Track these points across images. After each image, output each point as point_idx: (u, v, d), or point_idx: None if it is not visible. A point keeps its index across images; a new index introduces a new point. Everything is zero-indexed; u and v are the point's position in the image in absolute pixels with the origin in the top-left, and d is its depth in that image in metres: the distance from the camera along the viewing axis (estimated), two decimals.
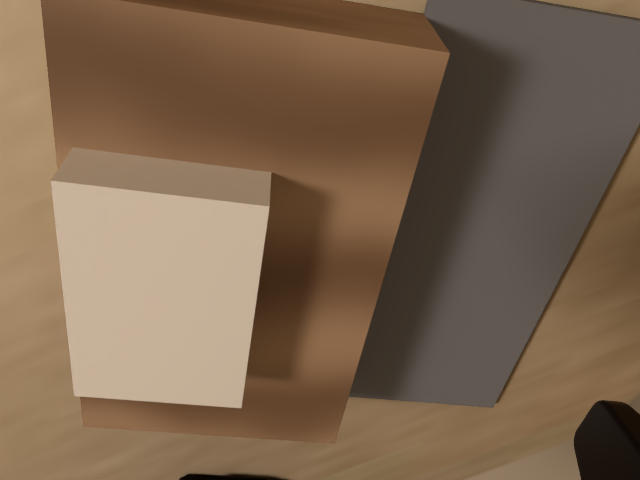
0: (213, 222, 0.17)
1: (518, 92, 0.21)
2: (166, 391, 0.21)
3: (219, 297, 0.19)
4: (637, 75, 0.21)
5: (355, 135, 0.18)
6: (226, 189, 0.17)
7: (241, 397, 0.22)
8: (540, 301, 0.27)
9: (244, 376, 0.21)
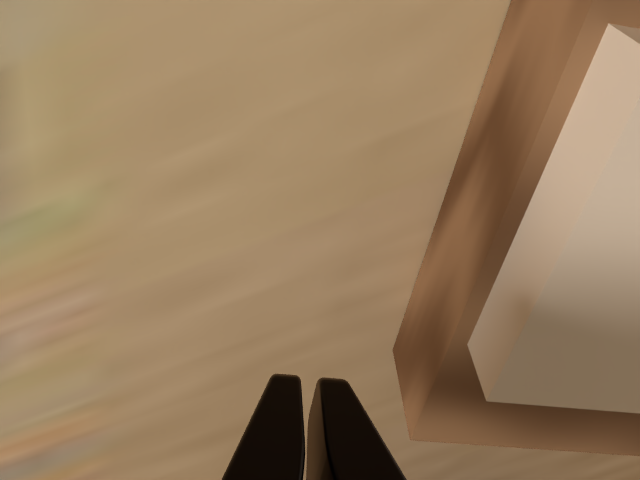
0: None
1: None
2: (613, 395, 0.15)
3: None
4: None
5: None
6: None
7: None
8: None
9: None
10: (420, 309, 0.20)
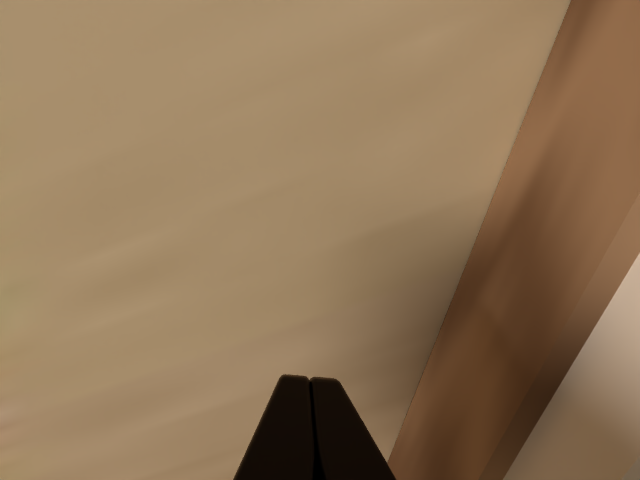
0: None
1: None
2: None
3: None
4: None
5: None
6: None
7: None
8: None
9: None
10: (420, 436, 0.16)
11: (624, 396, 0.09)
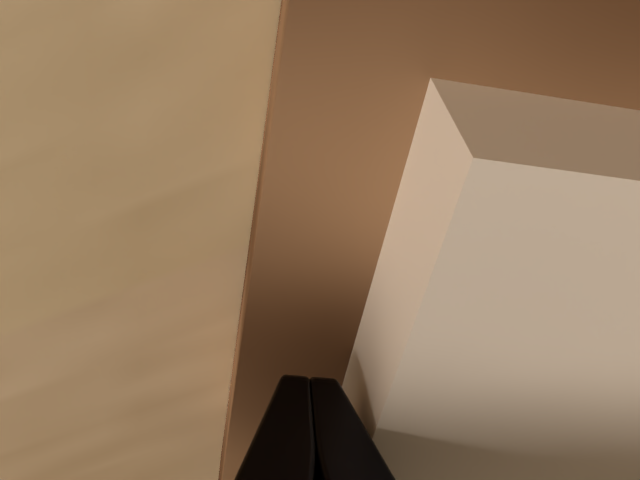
0: None
1: None
2: None
3: None
4: None
5: None
6: None
7: None
8: None
9: None
10: (226, 422, 0.15)
11: (372, 371, 0.08)
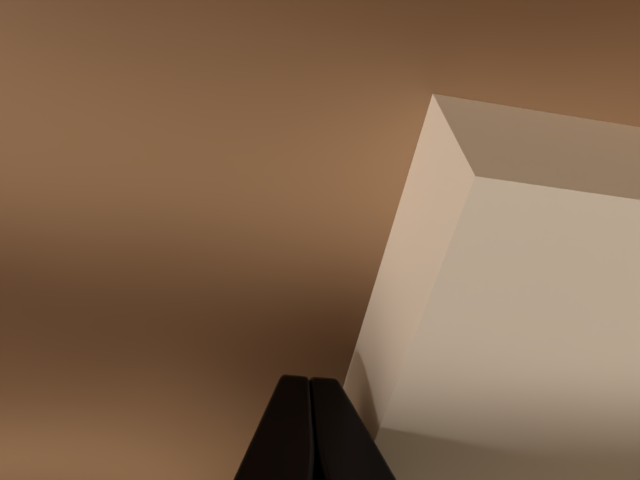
0: None
1: None
2: None
3: None
4: None
5: None
6: None
7: None
8: None
9: None
10: None
11: (373, 379, 0.08)
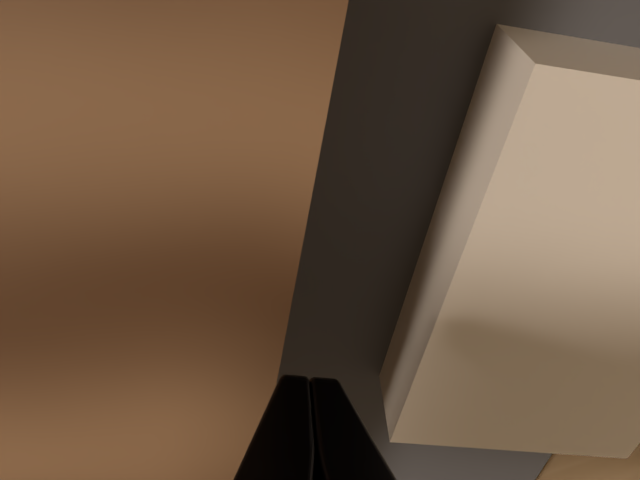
0: None
1: None
2: None
3: None
4: None
5: None
6: (580, 47, 0.10)
7: None
8: None
9: (397, 326, 0.14)
10: None
11: None
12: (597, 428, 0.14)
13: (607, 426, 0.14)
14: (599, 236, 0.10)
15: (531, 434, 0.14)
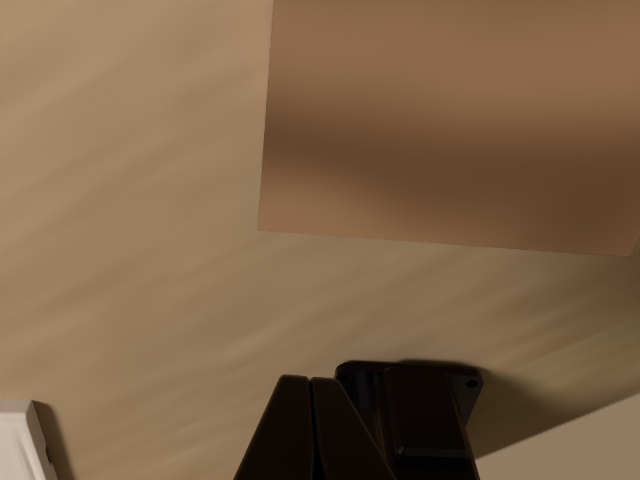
0: None
1: None
2: None
3: None
4: None
5: None
6: None
7: None
8: None
9: None
10: None
11: None
12: None
13: None
14: None
15: None
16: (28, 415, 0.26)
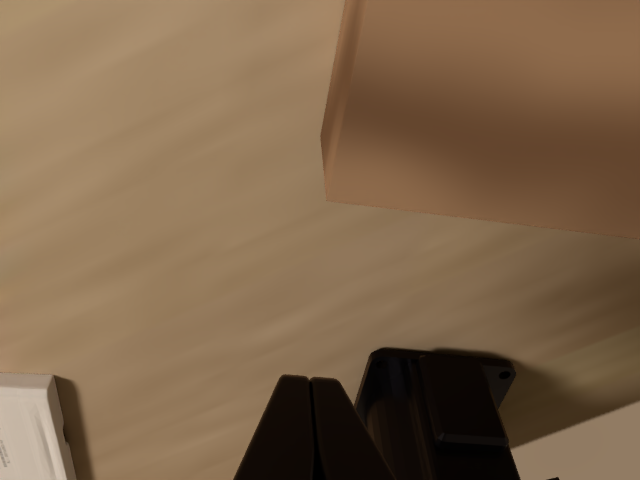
0: None
1: None
2: None
3: None
4: None
5: None
6: None
7: None
8: None
9: None
10: (341, 52, 0.17)
11: None
12: None
13: None
14: None
15: None
16: (49, 391, 0.25)
